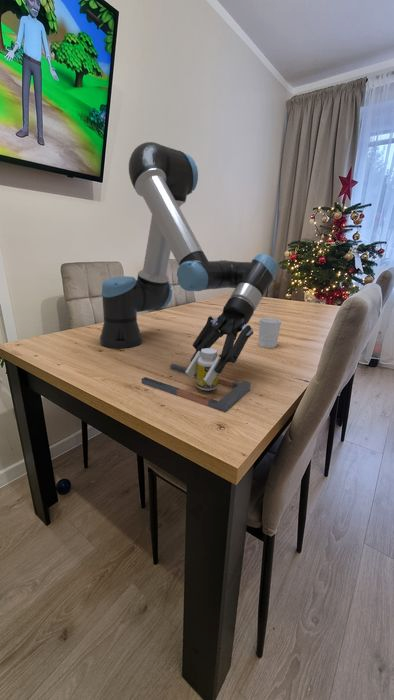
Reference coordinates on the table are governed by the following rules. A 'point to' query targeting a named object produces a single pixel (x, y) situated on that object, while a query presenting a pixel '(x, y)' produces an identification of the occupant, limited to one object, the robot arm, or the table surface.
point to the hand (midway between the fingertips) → (197, 378)
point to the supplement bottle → (206, 369)
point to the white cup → (268, 332)
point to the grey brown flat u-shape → (222, 404)
